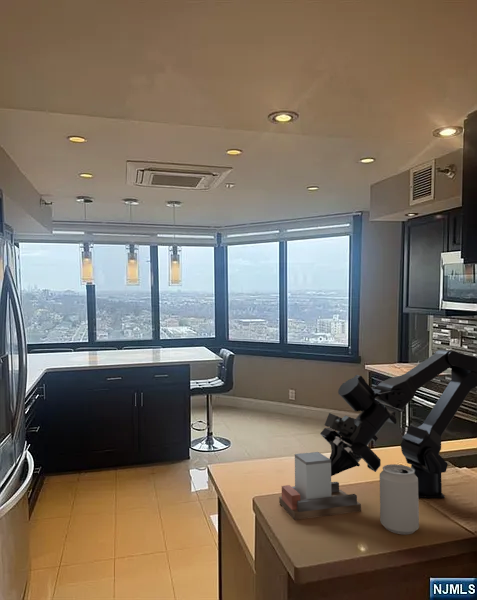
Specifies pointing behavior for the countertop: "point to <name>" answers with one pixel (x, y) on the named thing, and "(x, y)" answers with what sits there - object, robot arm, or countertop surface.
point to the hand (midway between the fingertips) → (325, 475)
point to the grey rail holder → (318, 503)
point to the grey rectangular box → (312, 475)
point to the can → (399, 499)
